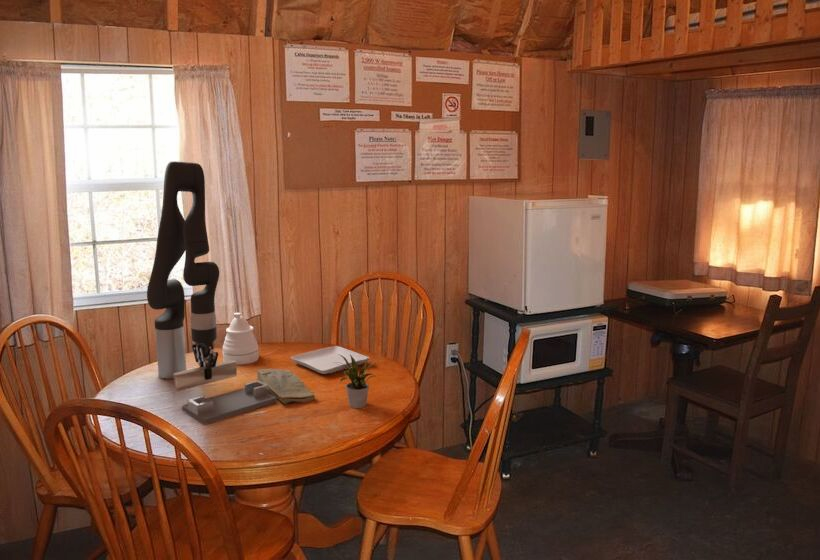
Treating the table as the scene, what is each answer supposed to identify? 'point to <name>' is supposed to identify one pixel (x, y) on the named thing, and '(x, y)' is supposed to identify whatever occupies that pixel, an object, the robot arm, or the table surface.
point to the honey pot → (240, 342)
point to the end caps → (202, 407)
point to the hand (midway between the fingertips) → (206, 377)
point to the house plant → (356, 384)
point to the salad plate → (328, 359)
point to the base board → (231, 405)
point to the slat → (198, 378)
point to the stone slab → (285, 385)
